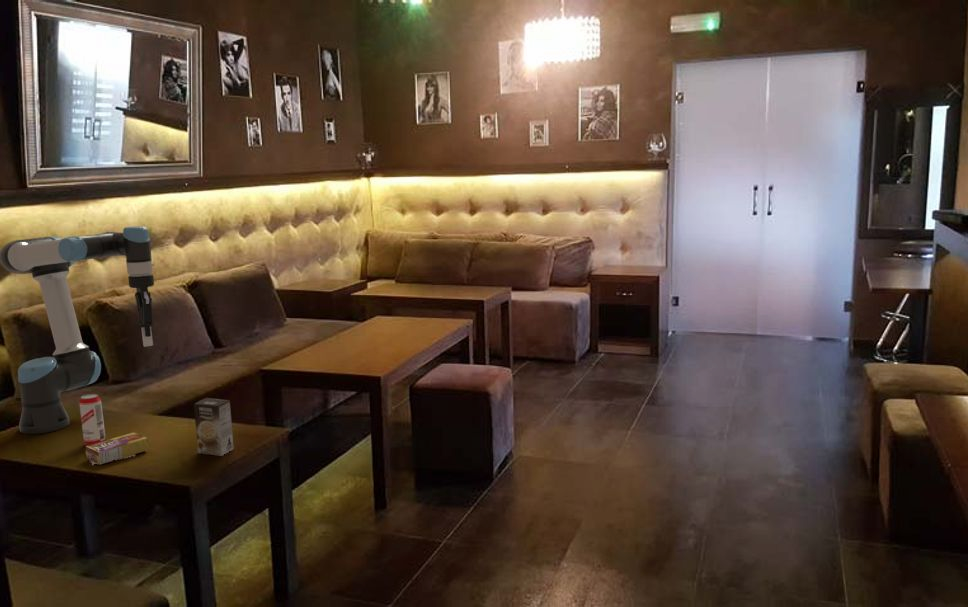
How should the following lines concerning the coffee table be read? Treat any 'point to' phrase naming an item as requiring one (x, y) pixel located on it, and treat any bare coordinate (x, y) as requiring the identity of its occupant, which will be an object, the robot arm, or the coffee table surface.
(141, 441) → the candy box
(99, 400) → the beer can
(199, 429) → the coffee box
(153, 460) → the coffee table surface
